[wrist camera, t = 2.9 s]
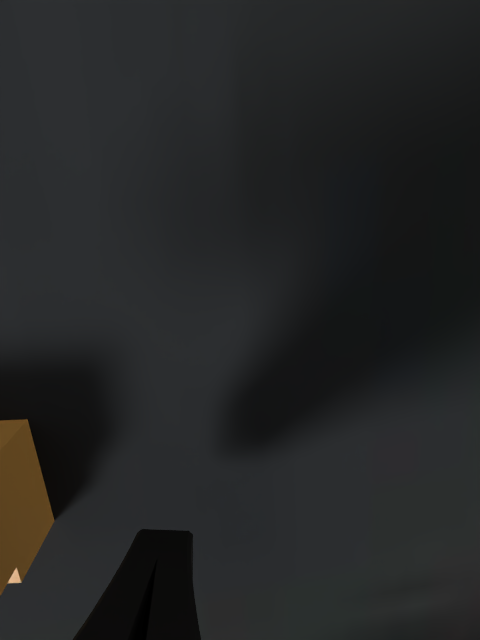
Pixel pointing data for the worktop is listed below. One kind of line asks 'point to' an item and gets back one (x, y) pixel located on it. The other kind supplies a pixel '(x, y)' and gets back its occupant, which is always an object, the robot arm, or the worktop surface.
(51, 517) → the tan stepped block
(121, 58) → the worktop surface
